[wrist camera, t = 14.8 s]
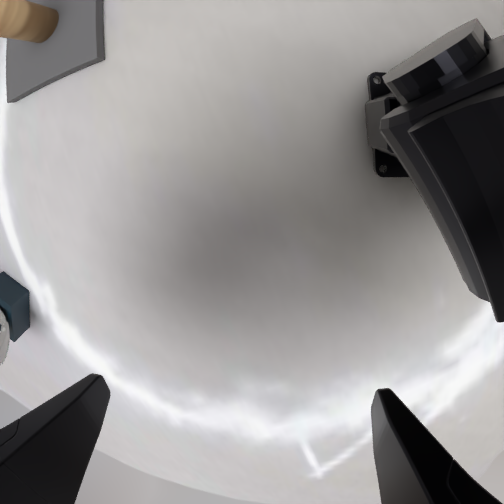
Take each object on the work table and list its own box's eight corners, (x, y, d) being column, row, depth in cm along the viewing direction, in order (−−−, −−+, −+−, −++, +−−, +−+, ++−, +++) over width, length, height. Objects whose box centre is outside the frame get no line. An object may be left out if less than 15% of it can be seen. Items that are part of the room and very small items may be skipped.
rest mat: (104, -43, 13) (98, -48, 12) (104, 59, 16) (97, 57, 16) (16, 8, 14) (9, 7, 13) (15, 102, 18) (7, 102, 17)
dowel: (59, 2, 14) (-3, -17, 7) (58, 33, 15) (-9, 19, 8) (32, 19, 14) (-29, 6, 8) (31, 49, 15) (-34, 42, 9)
